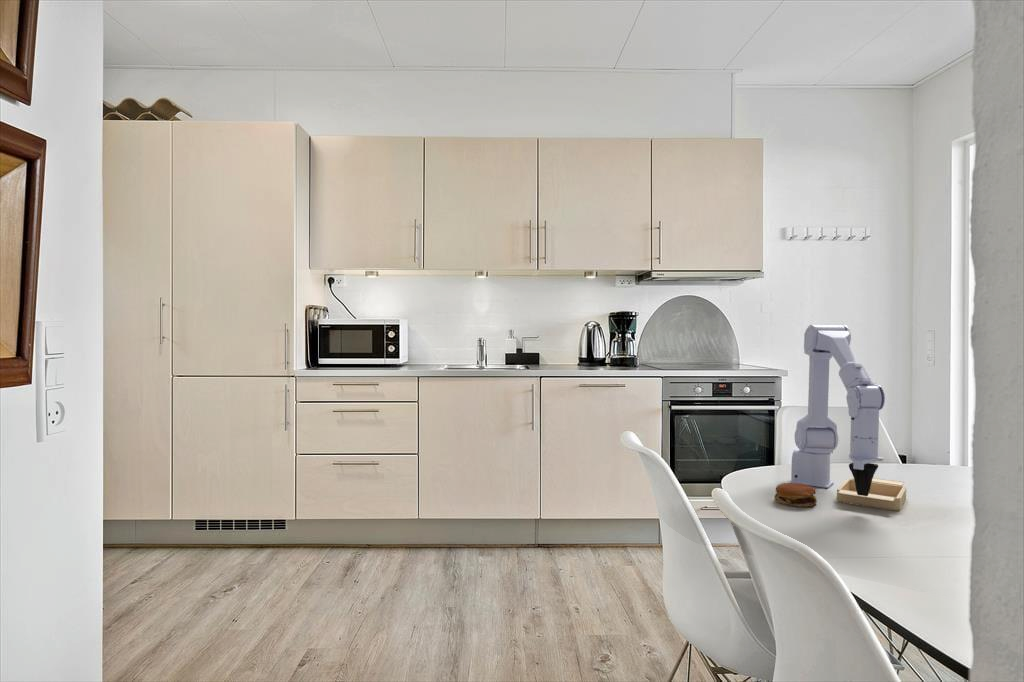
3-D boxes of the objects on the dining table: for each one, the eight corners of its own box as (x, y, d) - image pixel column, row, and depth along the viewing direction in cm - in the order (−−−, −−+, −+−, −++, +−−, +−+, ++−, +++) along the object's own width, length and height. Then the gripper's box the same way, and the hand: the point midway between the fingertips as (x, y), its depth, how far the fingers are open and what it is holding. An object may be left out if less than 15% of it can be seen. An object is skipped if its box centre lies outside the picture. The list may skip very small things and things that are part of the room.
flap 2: (840, 491, 162) (837, 494, 159) (840, 489, 162) (837, 492, 159) (894, 498, 155) (892, 502, 152) (894, 497, 155) (892, 501, 152)
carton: (836, 501, 163) (836, 489, 163) (846, 490, 174) (847, 478, 174) (899, 511, 155) (899, 498, 155) (906, 498, 166) (906, 486, 166)
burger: (769, 497, 167) (770, 479, 167) (807, 498, 166) (808, 480, 166) (782, 508, 157) (782, 489, 157) (822, 510, 156) (823, 490, 156)
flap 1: (902, 486, 167) (904, 483, 169) (902, 485, 167) (904, 481, 169) (851, 479, 174) (853, 476, 176) (851, 478, 174) (853, 475, 176)
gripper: (879, 443, 145) (877, 504, 145) (888, 434, 156) (886, 491, 157) (843, 439, 149) (842, 499, 149) (855, 431, 161) (853, 486, 161)
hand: (862, 495), depth 153 cm, fingers closed
